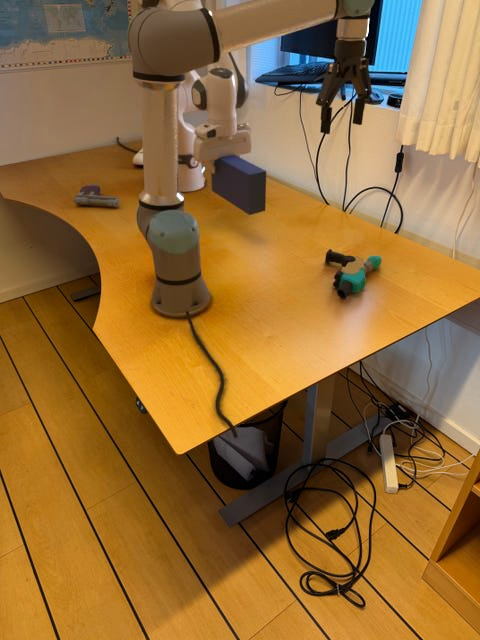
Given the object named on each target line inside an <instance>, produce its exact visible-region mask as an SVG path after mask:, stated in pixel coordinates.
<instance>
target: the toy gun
mask: <svg viewBox="0 0 480 640" xmlns="http://www.w3.org/2000/svg"><path fill="white" fill-rule="evenodd" d="M73 203H75V204H76V205H80V206H81V205H82V206H83V205H84V206H93V207H95V206H96V207H107V208H108V207H109V208H118V205H119V203H120V198H117V197H113V196H109V195H108V196H107V195H106V196H105V195H102V196H101V187H100V185H99V184H86V185H84V186H81V188H80V190H79V193H77V194H76V195H75V198H74V200H73Z"/></svg>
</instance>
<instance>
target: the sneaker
mask: <svg viewBox="0 0 480 640" xmlns="http://www.w3.org/2000/svg"><path fill="white" fill-rule="evenodd" d="M132 163H133V164H134V165H137V166H143V146H141V149H140V150H139V151H138V153H136V154H135V155H133V158H132Z"/></svg>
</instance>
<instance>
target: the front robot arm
mask: <svg viewBox="0 0 480 640" xmlns="http://www.w3.org/2000/svg"><path fill="white" fill-rule="evenodd" d="M375 1H376V0H248V1H244V2H239V3H237V4H234V5H231V6H227V7H223V8H220V9H217V10H214V11H212V10H211V9H210V8H209V7H203V8H201V9H197V10H192V11H171V10H166V9H164V8H158V7H149V8H146V9H143V8H142V9H141V10H140V11H138V12H137V13H136V14H135V15H134V16H133V17H132V18H131V20H130V22H129V23H128V28H127V33H126V40H127V41H126V42H127V45H128V49H129V52H130V55H131V65H132V66H131V67H132V79H133V80H134V81H135V82H136V83H137V85H139V88H140V89H139V90H140V91H139V92H140V113H141V114H140V115H141V138H142V139H141V141H142V147H143V165H142V166H143V190H142V191H141V192H140V193H139V194H138V206H137V209H136V216H135V217H136V224H137V228H138V230H139V232H140V233H141V235H142V236H143V238H144V241H145V242H146V244H147V245H148V247H149V249H150V251H151V255H152V260H153V261H152V262H153V268H154V274H155V275H154V276H155V281H154V284H153V290H152V294H151V305H152V308H153V310H154V311H155V312H156V313H157V314H159V315H160V316H163V317H167V318H171V319H183V318H185V319H186V318H187V320H188V324H189V326H190V330H191V333H192V335H193V337H194V338H195V340H196V342H197V344H198V345H199V347H200V348H201V350H203V353H204V354H205V356H206V357H207V359H208V360H209V361H210V363H211V364H212V365H213V366H214V368H215V370H216V371H217V372H218V373H217V374H218V375H219V379H220V384H219V388H218V391H217V394H216V397H215V402H214V403H215V411H216V413H217V416H218V418H220V419H221V420H222V421H223V422H224V423H225V424H226V425H227V426H228V427H229V429H230V431H231V434H232V436H233V438H234V439H238V438H239V437H238V436H239V435H238V433H237V432H238V431H237V430H236V427H235V425H234V424H233V423H232V421H230V419H228V418H227V417H226V416H225V415H224V414H223V413H222V410H221V408H220V400H221V396H222V393H223V390H224V387H225V376H224V374H223V371H222V369H221V367H220V365H219V364H218V363H217V362H216V360H215V359H214V358H213V357H212V355H211V354H210V353H209V351H208V349H207V348H206V346H205V345H204V344H203V342H202V341H201V339H200V337H199V336H198V333H197V332H196V329H195V325H194V323H193V320H192V318H191V317H194V316H196V315H199V314H201V313H202V312H204V311H205V310H207V308H208V307H209V306H210V303H211V294H210V293H211V292H210V290H209V288H208V286H207V284H206V281H205V278H204V277H203V275H202V262H201V261H202V259H201V247H200V246H201V245H200V244H201V243H200V235H201V234H200V229H199V226H198V221H197V219H196V218H195V217H194V216H193V215H192V214H190V213H189V212H186V211H185V195H184V194H183V192H180V191H179V190H178V89H179V87H180V86H181V85H182V84H183V83H184V82H185V73H187V72H190V71H193V70H195V71H196V70H198V69H201V68H204V67H206V66H210V65H212V64H217V62H219V61H220V59H221V57H222V55H223V54H226V53H229V52H231V53H232V52H235V51H238V50H241V49H245V48H248V47H251V46H253V45H257V44H260V43H263V42H267V41H270V40H273V39H276V38H280V37H282V36H285V35H289V34H292V33H295V32H298V31H301V30H305V29H309V28H311V27H315V26H317V25H320V24H324V23H327V22H330V21H334V20H337V26H336V36H335V37H336V38H338V39H336V41H335V43H334V44H335V45H334V57H335V58H336V62H335V63H334V62H328V63H327V65H326V71H325V75H324V78H323V81H322V84H321V86H320V89H319V92H318V95H317V97H316V100H315V105H316V106H318V107H320V130H319V132H320V133H321V134H326V135H330V134H331V124H332V116H333V115H332V114H333V107H332V104H333V101H334V100H335V98H336V96H337V95H338V93H339V91H340V89H341V87H342V86H343V85H344V84H345V83H346V82H349V81H351V84H352V86H353V89H354V91H355V94H356V96H357V98H355V99H354V108H353V116H352V124H353V125H358V126H362V125H363V118H364V111H365V107H366V101H367V100H370V98H371V96H372V95H373V89H372V82H371V76H370V69H369V66H370V65H369V64H370V59H369V58H366V57H365V55H366V48H367V40H366V39H367V37H368V34H369V24H370V15H371V8H372V7H373V5H374V4H375Z"/></svg>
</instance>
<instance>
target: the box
mask: <svg viewBox="0 0 480 640" xmlns="http://www.w3.org/2000/svg"><path fill="white" fill-rule="evenodd" d="M213 165H214V166H215V167H217V171H218V172H217V173H215V174H213V173H212V172H211V171H210V174H211V192H213V193H215V194H216V195H218V196H219V197H221V198H222V199H224V200H226V201H227V202H228V203H230V204H231V205H233V206H234V207H236V208H238V209H239V210H241V211H242V212H243V213H245V214H247V215H248V216H251V215H255V214H259V213H263V212H265V211H266V203H267V201H266V197H267V194H266V193H267V170H266V169H263V168H261V167H259V166H257V165H255V164H253V163H252V162H250V161H248V160H246V159H244V158H242V157H241V156H240V157H238V156H236V155H230V156H226V157H221V158H218V160H214V164H213Z"/></svg>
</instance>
